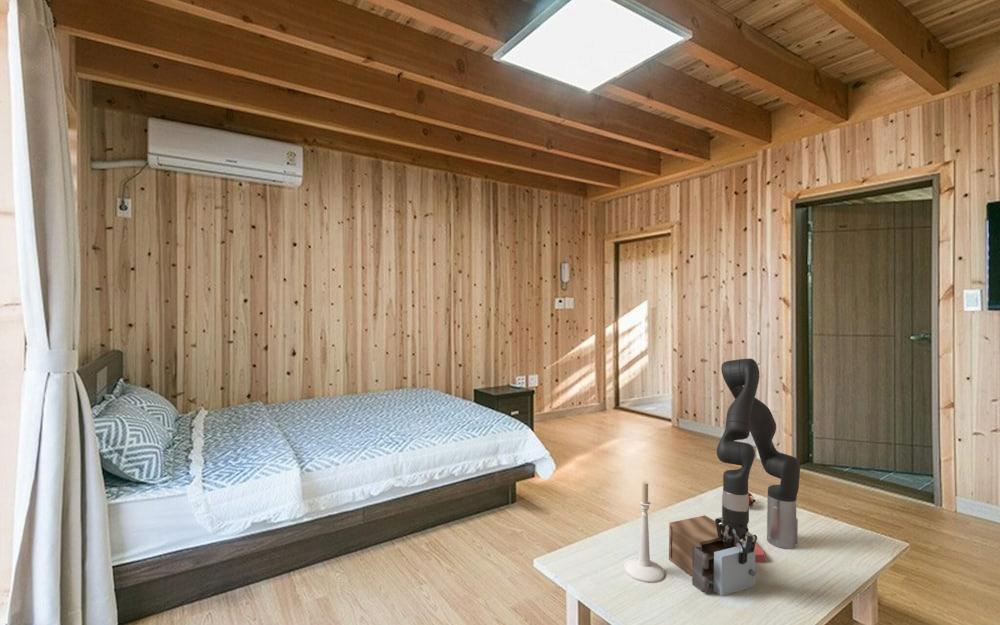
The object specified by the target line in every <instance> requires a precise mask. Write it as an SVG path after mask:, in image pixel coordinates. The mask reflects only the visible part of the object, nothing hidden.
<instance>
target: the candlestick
mask: <svg viewBox="0 0 1000 625" xmlns="http://www.w3.org/2000/svg"><path fill="white" fill-rule="evenodd" d="M639 504H640V508H641V510H642V512H641V518H640V519H641V520H640V533H639V534H640V535H639V546H638V548H639V549H638V551H639V552H638V557H636V558H635V557H634V558H632V559H629V560H627V561H626V562H625V563H624V564H623V570H624V572H625V574H626V575H627V576H628V577H630V578H631V579H633V580H636V581H637V582H638V581H639V582H643V583H648V584H651V583H653V584H654V583H659V582H661V581H663V580H664V578H665V576H666V575H665V574H666V573H665V570H664V568H663V567H662V565H660V564H658V563H657V562H656V561H653V560H651V558H650V533H649V514H648V510H649V509H650V506H651V502H650V501H649V482H648V481H642V482H641V500H639Z"/></svg>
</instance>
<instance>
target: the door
mask: <svg viewBox="0 0 1000 625" xmlns="http://www.w3.org/2000/svg"><path fill="white" fill-rule="evenodd" d="M742 546H743V545H742ZM743 548H744V546H743ZM739 552H740V550H739V546H736V547H732V548H729V549H725V550H721V551H717V552H714V579H713V592H715V593H716V594H718V595H719V596H721V597H723V596H726V595H730V594H732V593H736V592H739V591H743V590H746V589H749V588H752V587H755V586H756V562H755V548H754V552H752V553H748V554H747V562H746V563H745V564H740V563H739Z"/></svg>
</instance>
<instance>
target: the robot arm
mask: <svg viewBox="0 0 1000 625" xmlns="http://www.w3.org/2000/svg"><path fill="white" fill-rule="evenodd" d="M720 370H721V375H722V377H723V380H724V382H725V385H726V386H727V388H728V389H729V391H730V393H731V395H732V397H733V398H734V400H733V402H732V403H731V405H729V407H728V410H727V412H726V419H725V429H724V431H723V434H722V437H721V438H720V440H719V443H718V444H717V447H716V456H717V458H718V460H719V461H720V462H722V463H724V464H730V465H736V466H741V467H740V468H738V469H727V470H725V471H723V474H722V495H721V496H722V497H721V499H722V500H721V504H722V505H721V517H717V518H715V520H714V521H715V522H716V528H717V533H718V537H719V538H721V539H722V541H723V542H724V550H725V549H729V548H731V542H730V541H731V540H732V537H733V538H735V540H736V543H737V544H738V546H739V550H740V552H739V563H740V564H745V563H746V562H747V554H748V553H752V552H754V548H755V544H756V543H757V539H758V536H757V534H752V533H751V532H750V531H749V528H748V524H749V522H750V506H749V497H748V492H749V477H750V472H751V469H752V467H753V464H754V461H755V456H756V452H755V448H754V446H753V445H752V444H750V443H749V442H743V441H742V440H746V439H748V438H749V436H750V435H751V437H752V440H753V442H754V444H755V446H756V448H757V453H758V455H759V459H760V462H761V465H762V467H763V470H764V471H765V472H766V473H767V474H769V475H770V476H772V477H775V478H777V479H780V482H779V484H773V485H769V486H768V488H767V512H766V514H767V515H766V518H767V520H766V527H767V528H766V541H767V542H768V543H769V544H770V545H773V546H775V547H776V548H777V547H778V548H780V549H794V548H796V546H797V545H798V534H799V533H798V530H799V529H798V527H799V526H798V525H799V524H798V523H799V521H798V520H799V519H798V518H797V502H798V500H797V499H798V498H797V497H798V493H799V488H800V476H801V466H800V461H799V460H798V459H797V457H795V456H793V455H789V454H786V453H783V452H779V451H778V450H777V449H776V447H775V445H774V443H773V439H774V437H775V434H776V431H777V423H776V420H775V419H774V416H773V414H772V411H771V410H770V408H769V407H768V406H767V405H766V404H765V403H763V401H761V400H760V399H758V398H757V397H756V395H757V390H758V387H759V383H760V368H759V365H758V363H757V361H755V359H753V358H740V359H734V360H733V359H731V360H727V361H726V360H725V361H724V362H723V363H722V364H721V369H720ZM740 440H741V441H742V442H741V441H740ZM721 530H722V534H721ZM746 536H747V537H746ZM740 539H743V540H742V541H740ZM742 545H743V546H744V548H743V546H742Z"/></svg>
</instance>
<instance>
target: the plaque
mask: <svg viewBox="0 0 1000 625" xmlns="http://www.w3.org/2000/svg"><path fill="white" fill-rule="evenodd" d="M746 537H747V536H746ZM742 540H743V539H740V541H742ZM736 546H738V544H737V543H736ZM765 560H766V554H765V551H764V550H763V549H762V548H761V547H760V545H758V543H757V542H756V544H755V564H756V563H761V564H763V563H765V562H766V561H765Z"/></svg>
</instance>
